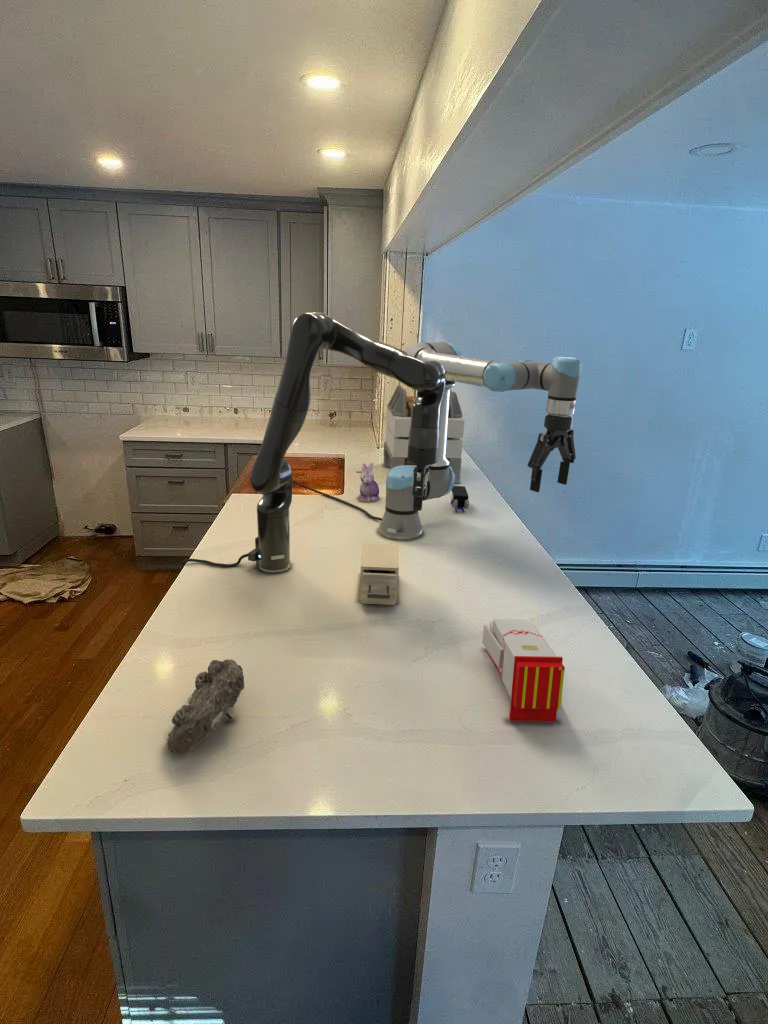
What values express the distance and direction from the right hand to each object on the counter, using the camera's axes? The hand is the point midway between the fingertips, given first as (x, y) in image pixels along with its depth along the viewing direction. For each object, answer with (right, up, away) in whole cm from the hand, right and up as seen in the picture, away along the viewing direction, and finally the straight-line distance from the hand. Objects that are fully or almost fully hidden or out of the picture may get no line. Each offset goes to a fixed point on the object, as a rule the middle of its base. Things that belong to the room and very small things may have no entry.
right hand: (548, 487), depth 165 cm
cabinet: (-50, -29, -5) cm, 57 cm away
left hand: (-39, -5, -18) cm, 43 cm away
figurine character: (-18, -6, +63) cm, 66 cm away
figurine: (-54, -2, +69) cm, 88 cm away
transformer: (-31, +12, +109) cm, 114 cm away
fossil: (-81, -46, -57) cm, 109 cm away
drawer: (-50, -30, -11) cm, 59 cm away
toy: (-20, -44, -42) cm, 64 cm away
